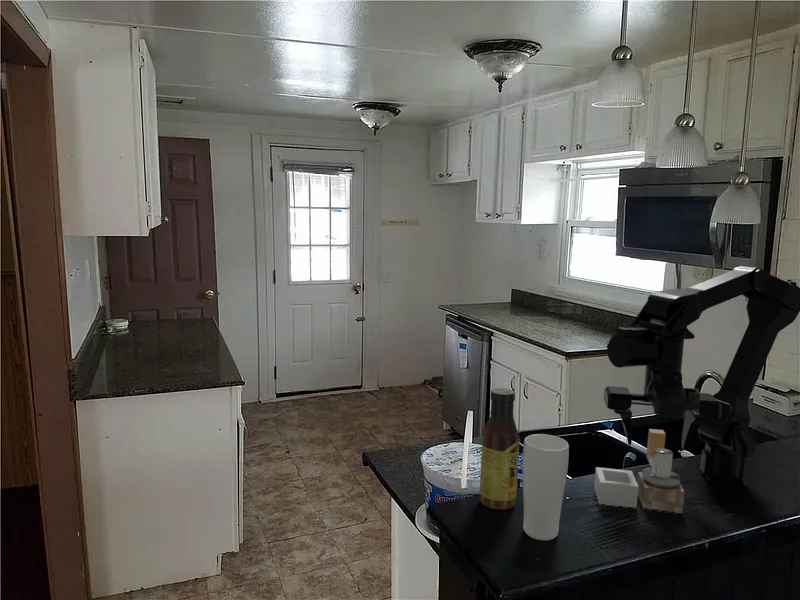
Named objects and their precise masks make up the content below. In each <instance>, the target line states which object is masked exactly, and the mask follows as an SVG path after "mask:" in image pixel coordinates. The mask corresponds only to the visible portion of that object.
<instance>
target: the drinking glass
mask: <svg viewBox="0 0 800 600" xmlns="http://www.w3.org/2000/svg"><path fill="white" fill-rule="evenodd" d="M569 449H570V445H569V443H568V441H566V440H565V439H564V438H561V437H559V436H557V435H551V434H545V433H537V434H530V435H528V436H526V437H525V438H524V439H523V449H522V464H521V465H522V469H521V470H522V492H523V493H522V497H523V499H522V500H523V501H522V502H523V523H522V527H523V532H525V534H526V535H527V536H528V537H530V538H532V539H534V540H537V541H546V542H547V541H551V540H552V541H553V540H554V539H556V537H557V536H558V534H559V529H560V528H559V527H560V520H561V519H560V518H561V512H562V505H563V499H564V494H565V489H566V488H565V487H566V480H567V477H568V476H567V475H568V468H569V454H570V453H569Z"/></svg>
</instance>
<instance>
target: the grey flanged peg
mask: <svg viewBox="0 0 800 600" xmlns="http://www.w3.org/2000/svg"><path fill="white" fill-rule="evenodd" d="M673 456H674V452H673V451H672V450H670V449H667V448H665V447H664V448H656V449H654V456H653V466H652V467H651V466H650V467H646V468H644V469H643V470H642V471H641V472H642V480H643V481H644V482H645V483H646V484H648V485H650V486H653V487H656V488H660V489H667V490H672V489H677V488H678V487H679V486H680V485H681V476H680V475H679V474H677V473H676V472H674V471H673V469H672V468H673V459H674V457H673Z"/></svg>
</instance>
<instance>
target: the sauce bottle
mask: <svg viewBox="0 0 800 600" xmlns="http://www.w3.org/2000/svg"><path fill="white" fill-rule="evenodd" d="M490 400H491V402H490V403H491V404H490V411H489V412H490V413H489V414H490V417H489V419H487V421H486V423H485V425H484V426H483V432H482V442H481V455H480V457H481V460H480V461H481V462H480V480H479V483H480V484H479V487H480V488H479V493H480V495H479V500H480V503H481V504H482V505H483V506H484V507H486V508H488V509H492V510H497V511H505V510H510V509H512V508H513V507H514V506H515V503H516V498H517V492H518V491H517V490H518V489H517V488H518V476H519V475H518V473H519V455H520V454H519V453H520V433H519V432H518V429H517V425H516V421H515V418H514V415H515V414H514V406H515V405H514V403H515V400H516V392H515V390H513V389H510V388H504V387H498V388H493V389H491V390H490Z"/></svg>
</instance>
